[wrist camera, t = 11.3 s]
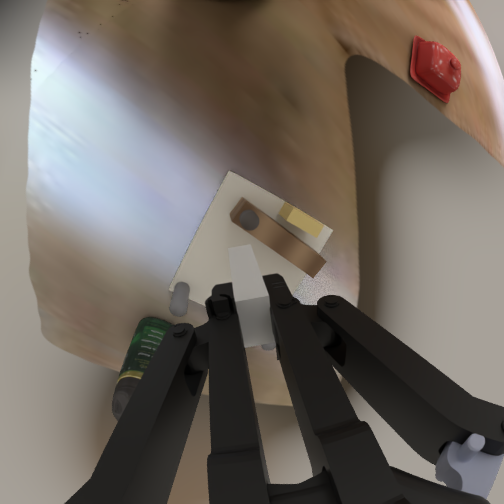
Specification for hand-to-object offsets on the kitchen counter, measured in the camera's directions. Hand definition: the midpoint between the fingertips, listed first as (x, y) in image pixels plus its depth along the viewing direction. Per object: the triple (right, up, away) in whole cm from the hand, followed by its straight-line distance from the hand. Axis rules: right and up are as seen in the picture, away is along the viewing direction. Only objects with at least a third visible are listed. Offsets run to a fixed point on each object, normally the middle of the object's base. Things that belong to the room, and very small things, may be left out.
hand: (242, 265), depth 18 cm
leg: (+4, +4, +22) cm, 22 cm away
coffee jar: (-17, -14, +27) cm, 35 cm away
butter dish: (+35, +36, +17) cm, 53 cm away
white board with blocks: (0, 0, +24) cm, 24 cm away
